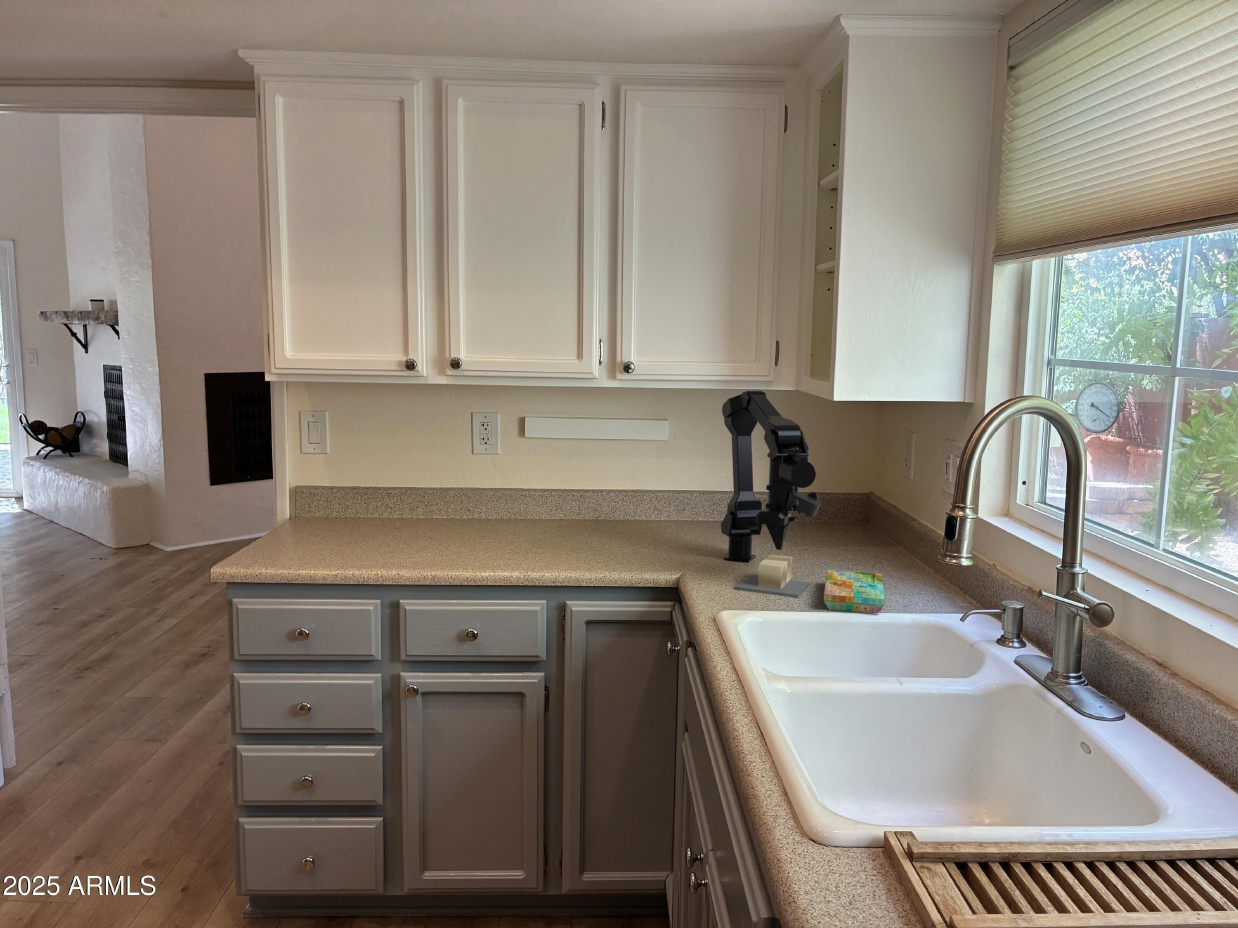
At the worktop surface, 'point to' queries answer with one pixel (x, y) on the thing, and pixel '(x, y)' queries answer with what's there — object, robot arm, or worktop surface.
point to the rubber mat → (788, 589)
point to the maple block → (775, 571)
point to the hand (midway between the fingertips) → (779, 549)
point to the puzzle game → (854, 591)
